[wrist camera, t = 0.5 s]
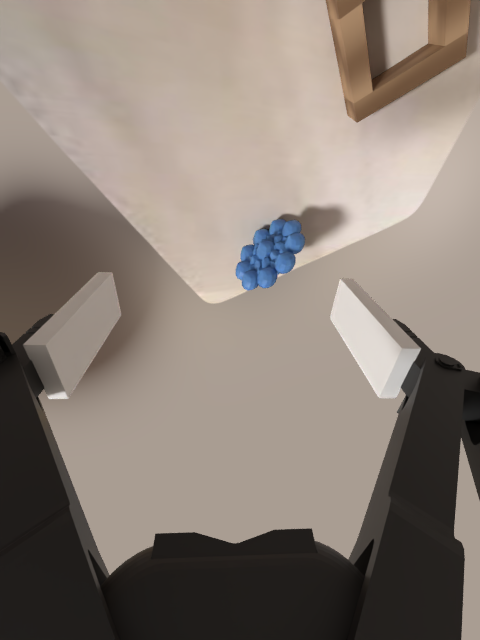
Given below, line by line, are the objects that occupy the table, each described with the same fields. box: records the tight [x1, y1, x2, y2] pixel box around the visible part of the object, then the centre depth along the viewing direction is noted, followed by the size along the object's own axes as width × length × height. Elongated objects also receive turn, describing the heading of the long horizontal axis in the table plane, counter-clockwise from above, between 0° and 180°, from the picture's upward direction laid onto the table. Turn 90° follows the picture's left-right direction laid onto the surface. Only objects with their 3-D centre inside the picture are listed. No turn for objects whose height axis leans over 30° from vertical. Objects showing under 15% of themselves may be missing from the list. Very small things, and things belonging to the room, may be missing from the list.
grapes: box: [236, 219, 305, 290], centre depth 40 cm, size 12×7×12 cm, turn 125°
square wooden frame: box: [326, 0, 471, 122], centre depth 26 cm, size 11×11×3 cm
